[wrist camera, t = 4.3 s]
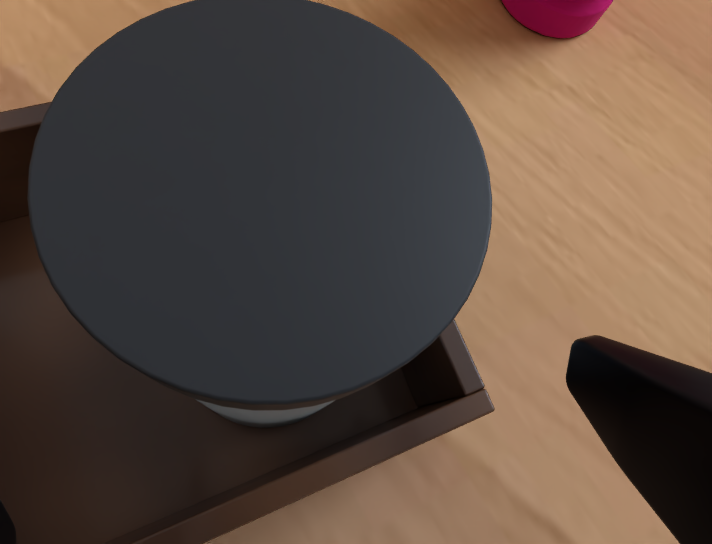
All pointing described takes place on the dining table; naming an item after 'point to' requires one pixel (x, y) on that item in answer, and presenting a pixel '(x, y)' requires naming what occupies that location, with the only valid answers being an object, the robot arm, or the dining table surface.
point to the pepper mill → (557, 15)
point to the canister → (259, 203)
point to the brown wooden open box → (170, 415)
